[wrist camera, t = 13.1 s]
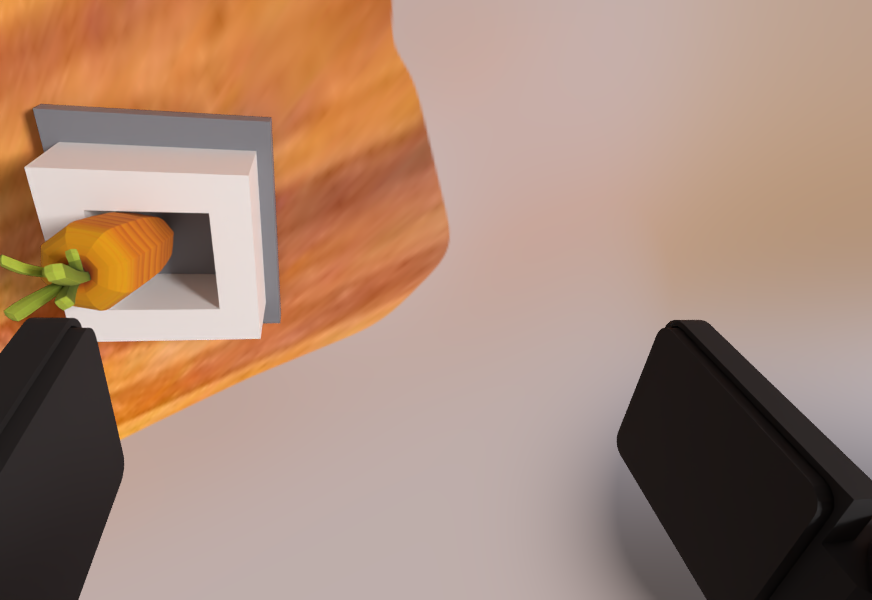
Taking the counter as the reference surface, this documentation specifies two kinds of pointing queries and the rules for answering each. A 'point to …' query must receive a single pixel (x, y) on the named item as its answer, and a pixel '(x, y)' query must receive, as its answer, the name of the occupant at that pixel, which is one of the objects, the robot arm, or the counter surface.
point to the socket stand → (170, 213)
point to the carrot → (95, 262)
